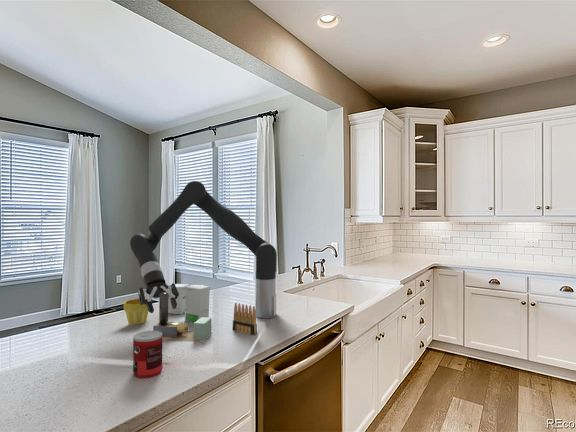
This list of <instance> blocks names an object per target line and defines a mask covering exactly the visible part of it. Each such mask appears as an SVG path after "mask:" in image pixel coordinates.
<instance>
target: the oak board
mask: <svg viewBox="0 0 576 432" xmlns="http://www.w3.org/2000/svg"><path fill="white" fill-rule="evenodd" d="M211 334H213V331H211ZM162 341H179V342H183V341H184V342H196V343H203V342H204V341H205V340H194V330H188V331H187V333H182V334H181V335H179V336H178V337H177V338H170V337H162Z"/></svg>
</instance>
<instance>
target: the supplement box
mask: <svg viewBox="0 0 576 432" xmlns="http://www.w3.org/2000/svg"><path fill="white" fill-rule="evenodd" d="M174 284H175V286H176V288H177V291H178V293H179V296H178V298H177V299H176V302H177V306H176V308H175V309H173V308H172V305H171V302H170V300H169V299H168V314H172V315H173V314H175V315H183V314H185V302H186V287H187V286H190V284H188V283H174ZM168 290H169V291H170V289H168ZM170 292H171V291H170ZM171 293H172V292H171Z"/></svg>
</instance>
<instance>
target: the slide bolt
mask: <svg viewBox="0 0 576 432" xmlns="http://www.w3.org/2000/svg"><path fill="white" fill-rule="evenodd" d="M158 300H159V302H158V303H159V305H158V309H159V311H158V312H159V315H158V316H159V317H158V320H159V321H158V323H157V324H156V325H161V326H177V333H187V331H189V324H188V323H183V324H180V323H168V322H169V313H168V293H167V292H163V293H159V298H158Z"/></svg>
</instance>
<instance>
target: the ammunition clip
mask: <svg viewBox="0 0 576 432" xmlns="http://www.w3.org/2000/svg"><path fill="white" fill-rule="evenodd" d="M255 309H256V307H255V305H253V306H252V305H251V304H249V307H248V304H245V305H244V303H242V305H241V303H240V302H239V303H238V304H237V302H235V303H234V306H233V320H232V331H233V332H239V333H244V334H248V335H250V336H256V335H257V334H258V330H257V329H258V327H257V326H258V325H257V317H256V313H255Z"/></svg>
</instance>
